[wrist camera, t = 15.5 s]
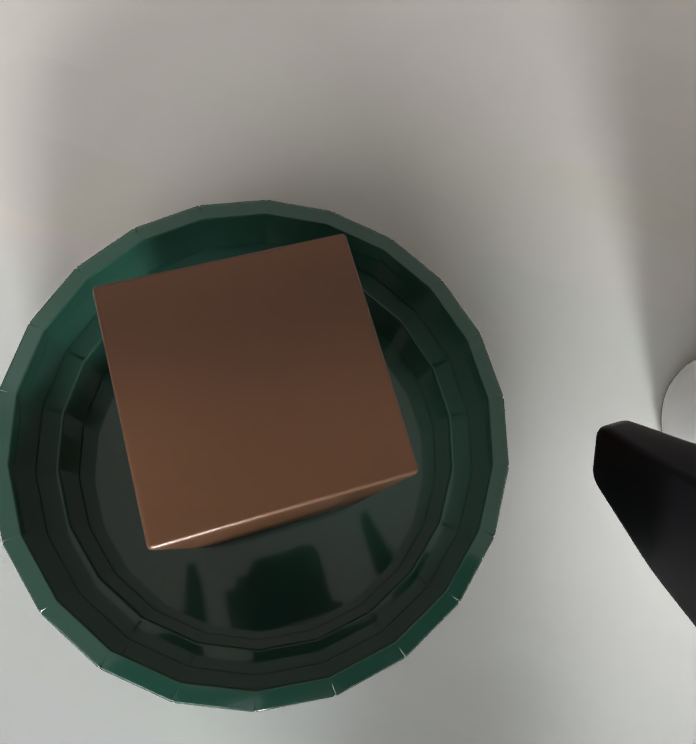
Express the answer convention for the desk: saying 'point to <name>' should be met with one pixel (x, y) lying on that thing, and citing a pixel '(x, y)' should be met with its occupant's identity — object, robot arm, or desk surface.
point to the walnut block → (251, 393)
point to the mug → (681, 405)
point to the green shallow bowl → (268, 548)
